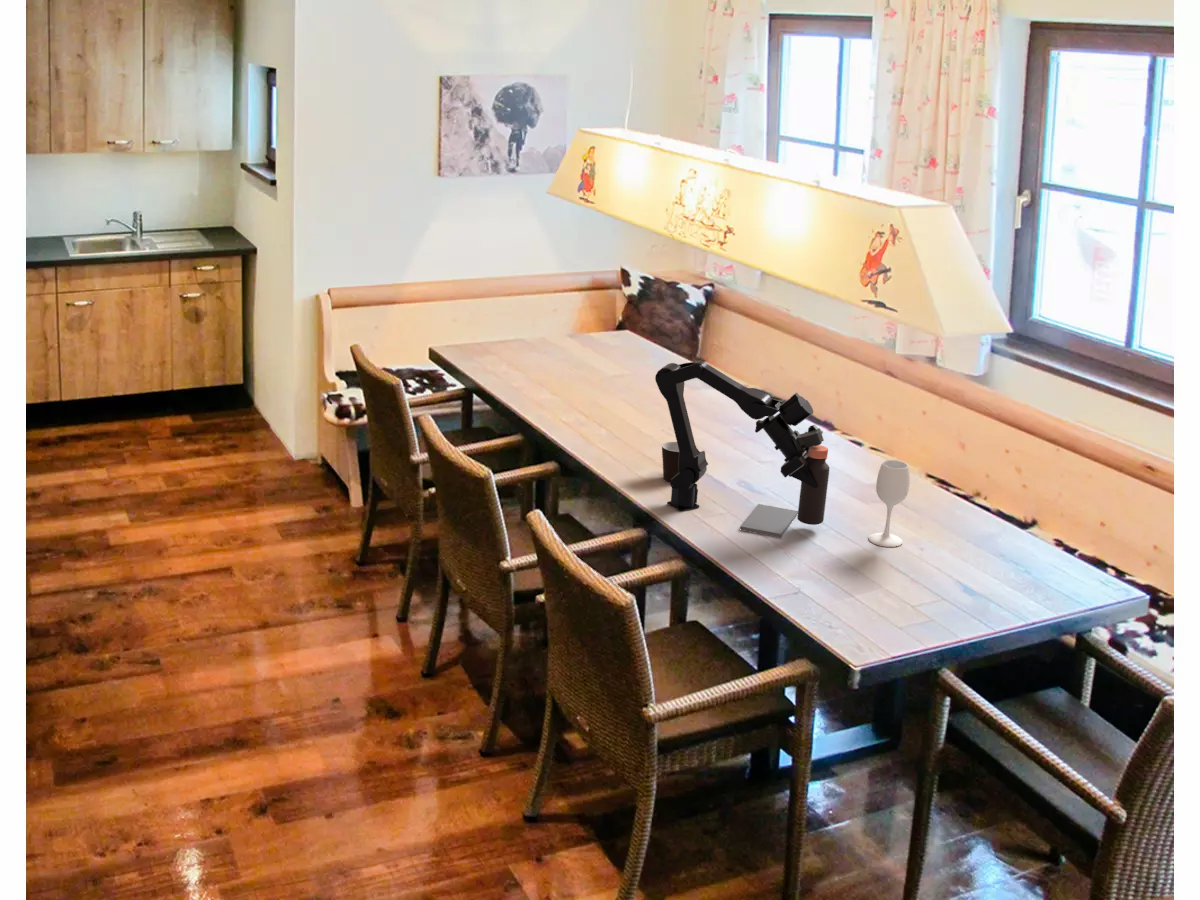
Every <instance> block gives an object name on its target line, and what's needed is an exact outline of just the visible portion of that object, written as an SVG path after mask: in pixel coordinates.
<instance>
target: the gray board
mask: <svg viewBox="0 0 1200 900" xmlns="http://www.w3.org/2000/svg"><path fill="white" fill-rule="evenodd" d="M797 514H798V510H794V509H790V508H789V509H788V508H783V507H779V506H773V505H772V506H771V505H767V504H760V503H757V505H756V506H755V507H754V508H753V510H752V511H751V513H749V514H748V516H747V517H746V518H745V519H744V521H743V522H742V524H740V526H739V530H740V529H741V530H740V531H743V530H745V532H749V531H751V532H750V533H754V532H756V533H755V534H759V533H760V534H761V535H765V536H771V537H776V538H783V535H784V534H785V533H786V532H787V530H788V529H789V528H790V524H791V525H792V524H793V522H792V521H794V520H795V519H796V518H797V517H798V515H797Z"/></svg>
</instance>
